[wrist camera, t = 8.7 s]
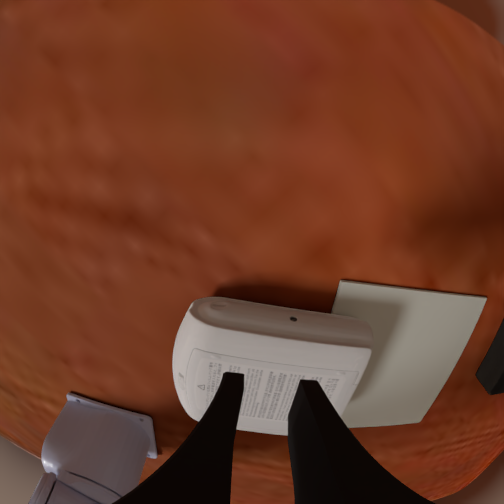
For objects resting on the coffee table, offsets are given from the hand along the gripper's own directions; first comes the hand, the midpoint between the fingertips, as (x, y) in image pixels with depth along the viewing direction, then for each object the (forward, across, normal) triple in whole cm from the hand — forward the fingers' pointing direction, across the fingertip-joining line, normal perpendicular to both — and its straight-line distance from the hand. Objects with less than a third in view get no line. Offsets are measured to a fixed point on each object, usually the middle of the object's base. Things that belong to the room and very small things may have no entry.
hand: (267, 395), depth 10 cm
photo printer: (+8, -7, +6) cm, 12 cm away
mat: (+10, -12, +7) cm, 17 cm away
